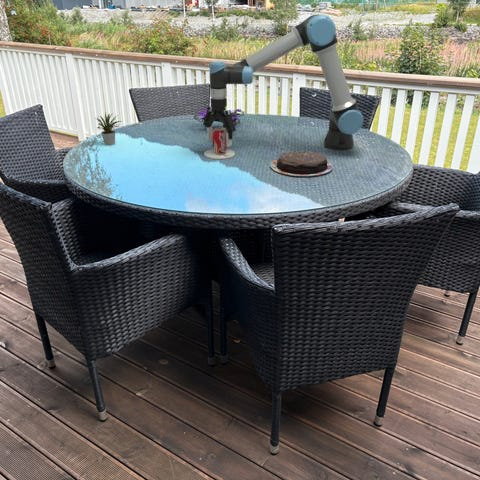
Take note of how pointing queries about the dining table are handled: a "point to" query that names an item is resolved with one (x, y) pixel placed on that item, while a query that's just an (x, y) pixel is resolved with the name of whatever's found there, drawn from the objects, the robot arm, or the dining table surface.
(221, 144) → the soda can
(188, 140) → the dining table surface
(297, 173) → the chocolate cake
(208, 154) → the coaster
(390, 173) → the dining table surface
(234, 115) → the drone
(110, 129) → the house plant
